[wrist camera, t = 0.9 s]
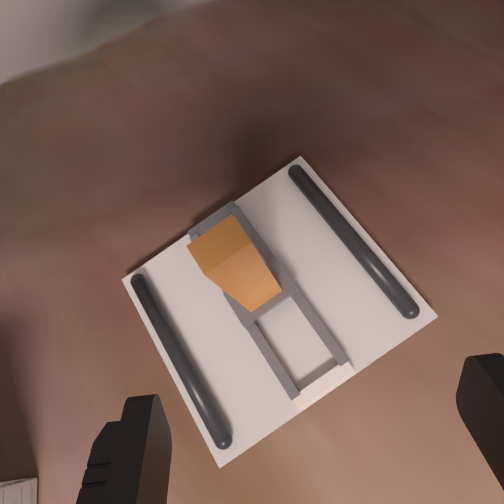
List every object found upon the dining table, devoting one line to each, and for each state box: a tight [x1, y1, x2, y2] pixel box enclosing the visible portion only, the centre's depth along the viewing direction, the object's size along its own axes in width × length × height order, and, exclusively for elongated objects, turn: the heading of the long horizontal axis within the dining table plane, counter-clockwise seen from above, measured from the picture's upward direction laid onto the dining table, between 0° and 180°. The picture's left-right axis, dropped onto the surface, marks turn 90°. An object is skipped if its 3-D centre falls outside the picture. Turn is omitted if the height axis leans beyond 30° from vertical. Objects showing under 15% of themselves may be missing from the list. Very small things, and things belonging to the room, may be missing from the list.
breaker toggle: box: [186, 214, 299, 328], centre depth 27 cm, size 5×3×12 cm, turn 123°
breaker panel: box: [122, 156, 438, 468], centre depth 34 cm, size 20×18×3 cm
